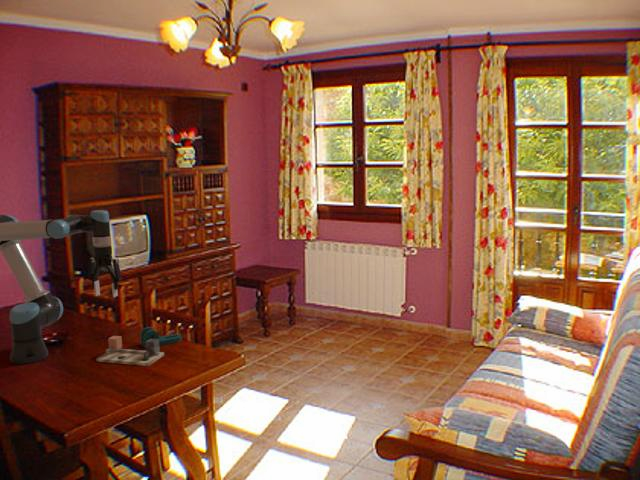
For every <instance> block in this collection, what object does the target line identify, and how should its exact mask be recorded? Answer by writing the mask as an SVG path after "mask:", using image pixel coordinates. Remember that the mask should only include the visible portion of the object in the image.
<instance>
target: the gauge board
mask: <svg viewBox="0 0 640 480" xmlns="http://www.w3.org/2000/svg"><path fill="white" fill-rule="evenodd" d="M164 356H165V352H164V351H162V352H161V351H160V346H159V339H149V340H148V341H146V348H145V350H140V349H127V348H120V349H118V350H110V351H108V356H106V352H104V354H102V355H100V356H98V357H97V358H96V362H99V363H110V364H111V363H112V364H120V365H122V364H123V365H132V366H133V365H134V366H144V367H149V366H151V365H152V364H154V363H155V362H157V361H158V360H160V359H161V358H162V357H164Z"/></svg>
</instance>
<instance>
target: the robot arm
mask: <svg viewBox="0 0 640 480" xmlns="http://www.w3.org/2000/svg"><path fill="white" fill-rule="evenodd" d="M109 213H110V212H108V210H106V209H105V210H104V209H100V210H99V209H97V210H92V211H91V212H90V214H89V215H88V214H87V215H86V214H69V215H66V217H64V218H59V219H47V220H46V219H45V220H29V221H19V220H18V219H17V218H16V217H15V216H13V215H10V214H0V252H1V254H2V256H3V257H4V260H5V261H6V263H7V265H8V267H9V269H10V271H11V273H12V274H13V276H14V278H15V281H16V282H17V284H18V286H19V288H20V290H21V292H22V294H23V295H24V297H25V301H24V303H20V304H17V305H15V306H13V307H12V308H11V309H10V310H9V322H10V331H11V339H12V345H11V350H10V354H9V361H10V363H12V364H16V365H17V364H18V365H19V364H20V365H22V364H32V363H36V362H39V361H42V360H45V359H46V358H47V357H48V356H49V349H48V348H47V346H46V343H45V341H44V339H43V335H42V333H43V332H42V329H44V328H45V327H48V326H50V325H53V324H55V323H56V322H57V321H58V320H59V319H60V318H61V317H62V316H63V312H64V306H63V302H62V301H61V299H59V298H58V297H57V296H53V295H52V293H51V291H48V290H46V289H45V287H44V285H43V284H42V282H41V280H40V278H39V276H38V274H37V273H36V271H35V269H34V266H33V264H32V263H31V261H30V258H29V257H28V255H27V253H26V251H25V250H24V247H23V245H22V244H21V242H22V240H33V239H34V240H36V239H50V238H51V239H58V240H59V239H64V238H66V237H69V236H73V235H76V234H81V233H91V235H92V245H93V255H94V257H93V256H92V257H90V258H88V274H87V275H88V276H87V280H89V281H91V282H92V288H93V289H94V297H98V296H101V288H100V280H99V276H100V272H101V270H102V268H105V269H106V270H107V271H108V273H109V276H110V279H111V280H112V282H111V290H112V292H111V293H112V297H113V298H116V297H118V296H119V294H118V293H119V292H118V289H120V288H119V282H121V281H122V280H123V275H122V273H121V269H120V268H121V267H120V263H119V261H120V260H119V258H117V257H116V258H114V257H113V256H112V255H113V251H112V250H113V249H112V235H111V225H110V224H111V220H110V214H109Z"/></svg>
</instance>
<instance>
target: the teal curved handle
mask: <svg viewBox="0 0 640 480" xmlns="http://www.w3.org/2000/svg"><path fill="white" fill-rule="evenodd" d="M149 339H159V347H160V346H165V345H171V344H176V343H180V342H182V340H183V337H182V334H180V333H173V334H171V333H170V334H167V335H161V336H160V334H159V333H158V332H157V330H155V329H154V328H153V327H150V326H146V327H144V328H143V329H141V331H140V344H141V346H142V347H143V348H144V349H146V341H148V340H149Z"/></svg>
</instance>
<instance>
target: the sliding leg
mask: <svg viewBox="0 0 640 480" xmlns="http://www.w3.org/2000/svg"><path fill="white" fill-rule="evenodd" d="M107 341H108V342H107V343H108V348H106V349H105V350H104V351H105V352H104V353H106V356H108V352H109V351H110V350H118V349H123V338H122V336H121V335H120V336H119V335H112V336H110V337H109V338H107Z"/></svg>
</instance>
